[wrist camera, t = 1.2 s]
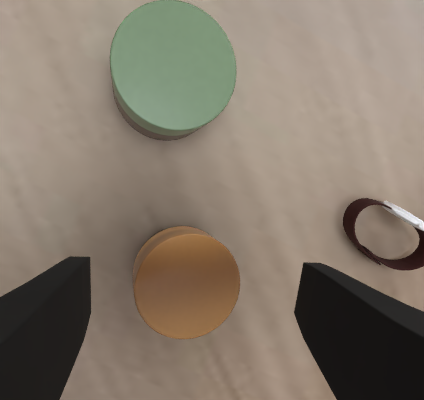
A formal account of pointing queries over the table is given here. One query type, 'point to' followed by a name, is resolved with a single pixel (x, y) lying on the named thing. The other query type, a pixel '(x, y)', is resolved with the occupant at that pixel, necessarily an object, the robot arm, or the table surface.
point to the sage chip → (172, 67)
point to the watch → (420, 255)
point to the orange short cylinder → (185, 282)
